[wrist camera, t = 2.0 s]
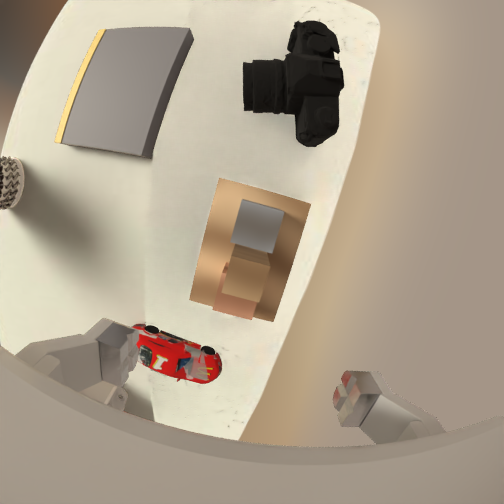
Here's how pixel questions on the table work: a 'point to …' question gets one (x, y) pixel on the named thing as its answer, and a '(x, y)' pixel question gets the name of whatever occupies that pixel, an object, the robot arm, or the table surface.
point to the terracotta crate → (233, 301)
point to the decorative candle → (10, 181)
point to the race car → (177, 356)
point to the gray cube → (257, 226)
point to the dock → (124, 89)
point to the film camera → (300, 83)
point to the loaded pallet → (224, 246)
